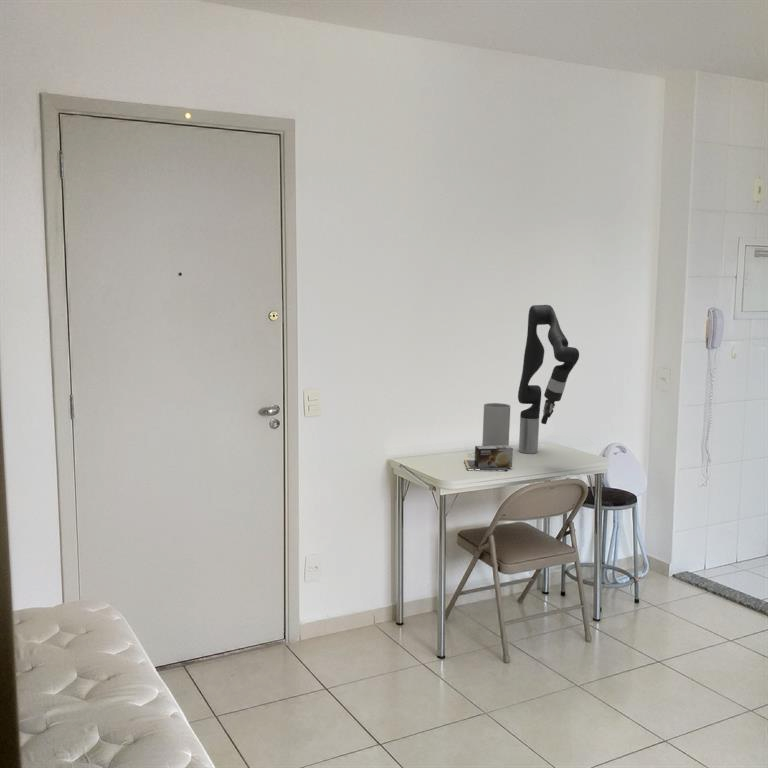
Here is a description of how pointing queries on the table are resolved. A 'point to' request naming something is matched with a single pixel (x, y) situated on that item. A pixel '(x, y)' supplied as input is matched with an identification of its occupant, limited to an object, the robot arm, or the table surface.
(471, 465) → the mat
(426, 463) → the table surface
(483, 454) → the coffee box
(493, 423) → the cylinder vase
